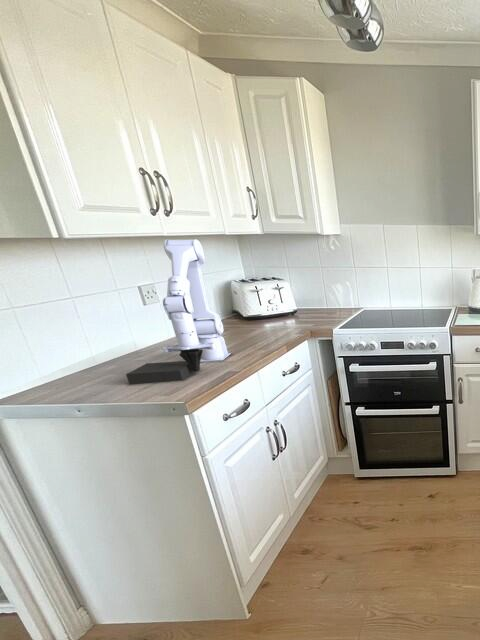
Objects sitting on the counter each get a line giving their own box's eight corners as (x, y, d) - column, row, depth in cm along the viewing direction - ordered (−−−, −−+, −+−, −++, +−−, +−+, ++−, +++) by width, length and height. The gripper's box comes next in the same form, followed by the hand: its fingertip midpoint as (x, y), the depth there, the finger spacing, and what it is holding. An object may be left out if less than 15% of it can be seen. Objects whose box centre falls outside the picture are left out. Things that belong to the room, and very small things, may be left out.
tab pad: (173, 371, 146) (170, 361, 145) (198, 369, 148) (195, 360, 147) (155, 382, 135) (152, 372, 134) (182, 380, 137) (179, 370, 136)
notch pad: (149, 372, 145) (146, 363, 144) (182, 370, 147) (179, 361, 146) (129, 384, 134) (125, 374, 133) (165, 381, 136) (162, 371, 135)
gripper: (153, 336, 133) (166, 376, 138) (205, 333, 136) (215, 372, 141) (165, 331, 139) (176, 369, 144) (213, 328, 143) (223, 366, 147)
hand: (196, 370), depth 143 cm, fingers closed
